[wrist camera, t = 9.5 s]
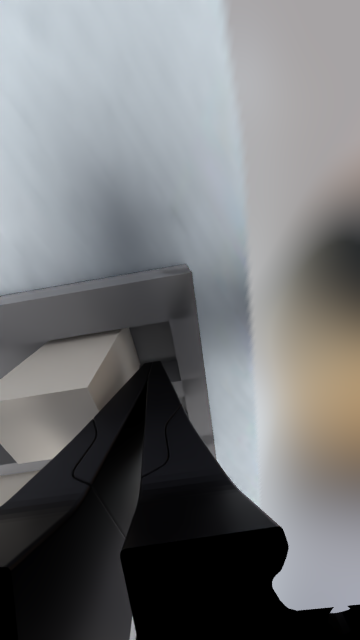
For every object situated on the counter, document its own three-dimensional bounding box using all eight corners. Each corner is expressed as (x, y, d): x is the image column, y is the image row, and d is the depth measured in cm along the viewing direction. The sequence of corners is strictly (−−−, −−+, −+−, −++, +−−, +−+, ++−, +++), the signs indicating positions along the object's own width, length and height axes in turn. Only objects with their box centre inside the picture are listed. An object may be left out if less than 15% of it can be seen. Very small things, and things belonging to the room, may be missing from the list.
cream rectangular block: (140, 363, 12) (117, 449, 7) (81, 373, 12) (18, 464, 7) (126, 320, 10) (87, 387, 6) (61, 331, 11) (-34, 406, 6)
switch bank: (211, 445, 18) (220, 491, 15) (23, 472, 19) (-11, 523, 15) (185, 264, 11) (192, 272, 8) (-119, 316, 11) (-241, 347, 8)
